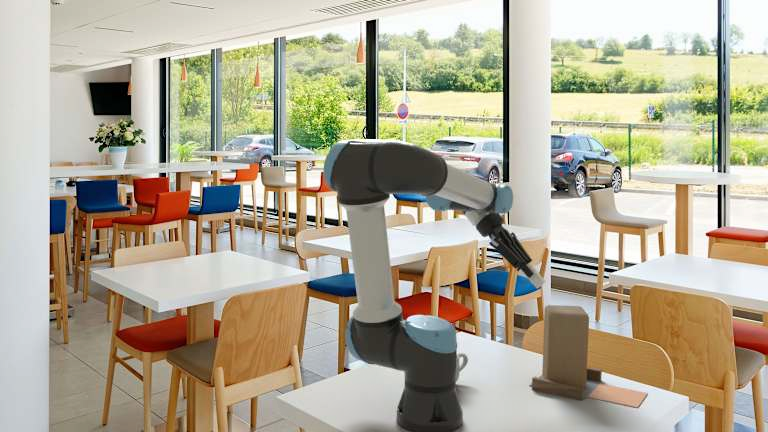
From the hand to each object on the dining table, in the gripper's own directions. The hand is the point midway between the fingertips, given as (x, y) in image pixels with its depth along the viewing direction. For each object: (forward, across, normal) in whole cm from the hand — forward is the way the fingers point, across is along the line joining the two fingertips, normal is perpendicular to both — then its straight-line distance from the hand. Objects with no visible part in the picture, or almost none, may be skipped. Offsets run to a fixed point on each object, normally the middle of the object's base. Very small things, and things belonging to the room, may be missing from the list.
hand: (541, 285), depth 176 cm
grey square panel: (+24, 0, +13) cm, 27 cm away
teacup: (+5, -18, +32) cm, 37 cm away
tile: (+33, 0, +3) cm, 33 cm away
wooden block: (+23, 0, +13) cm, 27 cm away
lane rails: (+24, 0, +12) cm, 27 cm away
